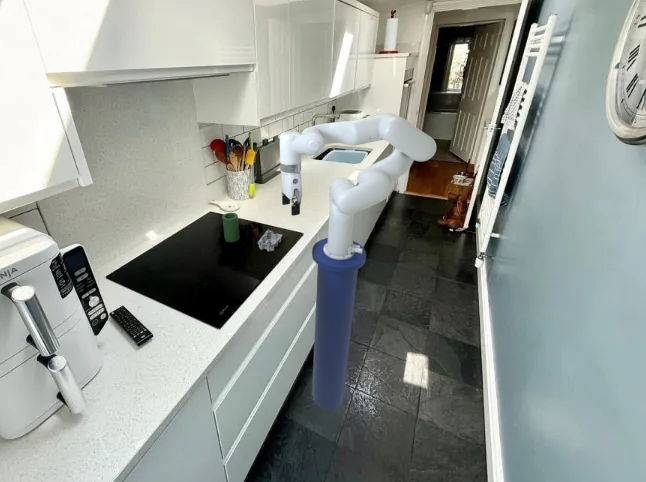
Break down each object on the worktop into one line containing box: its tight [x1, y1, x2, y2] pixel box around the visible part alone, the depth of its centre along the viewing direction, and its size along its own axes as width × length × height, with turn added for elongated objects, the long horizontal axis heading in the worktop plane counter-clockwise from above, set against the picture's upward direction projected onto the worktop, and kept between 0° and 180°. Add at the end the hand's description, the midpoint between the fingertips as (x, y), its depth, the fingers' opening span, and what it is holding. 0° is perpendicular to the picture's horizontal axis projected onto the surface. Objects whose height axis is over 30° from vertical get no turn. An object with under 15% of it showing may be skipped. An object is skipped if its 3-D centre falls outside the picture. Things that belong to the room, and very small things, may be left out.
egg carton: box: [257, 229, 283, 252], centre depth 128 cm, size 11×8×4 cm
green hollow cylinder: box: [221, 212, 241, 243], centre depth 132 cm, size 6×6×11 cm
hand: (290, 209), depth 118 cm, fingers open, 9 cm apart
